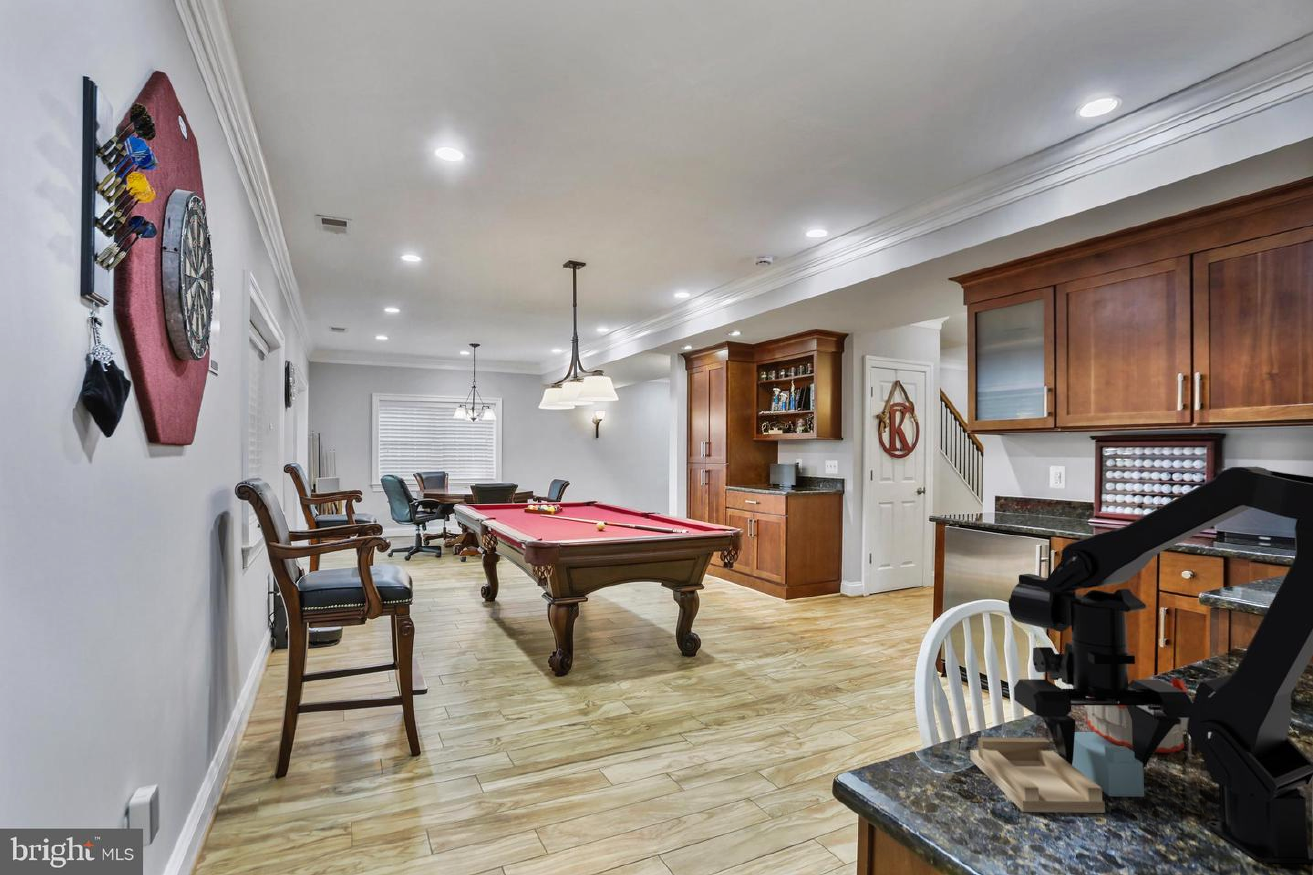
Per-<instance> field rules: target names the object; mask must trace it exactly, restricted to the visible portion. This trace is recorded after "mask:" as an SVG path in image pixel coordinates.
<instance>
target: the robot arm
mask: <svg viewBox="0 0 1313 875" xmlns="http://www.w3.org/2000/svg"><path fill="white" fill-rule="evenodd" d="M1251 508H1253V509H1255V510H1256V509H1257V510H1260V511H1264V512H1266V513H1269V514H1273V515H1276V516H1280V517H1285V518H1289V519H1292V520H1293V519H1294V520H1296V522H1295V525H1294V526H1295V527H1294V545H1295V549H1294V550H1295V555H1294V559H1293V562H1292V564H1291V565H1290V568H1289V569H1288V571H1287V573H1286V575H1285V577H1284V578H1283V580H1282V582H1281V584H1280V586H1279V588H1278V590H1277V592H1276V594H1275V596H1274V598H1273V600H1272V601H1271V603H1270V605H1269V607H1268V609H1267V610H1266V612H1265V615H1264V616H1263V619H1262V620H1261V622H1260V624H1259V626H1258V628H1257V629H1256V632H1254V635H1253V637H1252V639H1251V641H1250V643H1249V645H1248V647H1247V649H1246V650H1245V652H1244V653H1243V656H1242V658H1241V660H1240V661H1239V664H1238V666H1237V668H1236V669H1235V671H1234V673H1233V674H1232V675H1231V674H1230V673H1229V674H1226V675H1221V676H1219V677H1215V678H1210V679H1207V680H1203V681H1200V682H1199V684H1198V685H1197V688H1196V691H1195V695H1194V699H1193V700H1192V698H1191V697H1190V695H1189V694H1188V692H1187V693H1186V692H1185V691H1183V690H1180V689H1178V688H1176V687H1174V686H1172V684H1169V683H1166V682H1165V681H1162V680H1161V679H1132V680H1131V681H1129V669H1128V668H1129V667H1128V666H1129V665H1135V664H1136V656H1135V655H1134V654H1131V653H1130V652H1128V642H1127V641H1128V638H1127V636H1128V635H1127V613H1130V612H1135V611H1142V610H1145V609H1146V608H1147V605H1146V603H1145V602H1143V600H1141V599H1140V598H1138V597H1137V596H1136V595H1134V593H1133V592H1132V590H1130V588H1123V589H1122V588H1121V589H1117V590H1116V591H1115V592H1110V591H1103V590H1098V589H1092V588H1099V587H1103V586H1105V587H1106V586H1107V587H1108V586H1113V585H1119V584H1123V583H1125V582H1127V581H1128V580H1130V579H1131V578H1133V576H1135V575H1136V574H1137V573H1139V572H1140V571H1142V570H1143V569H1144V568H1146V567H1147V565H1148V564H1149V563H1150V561H1152V559H1153V558H1155V557H1156V556H1157V555H1158V554H1160V553H1161V552H1163V551H1165V550H1167V549H1169V548H1171V547H1173V546H1175V545H1177V544H1180V543H1181V542H1184V541H1186V540H1187V539H1190V538H1192V537H1194V536H1196V535H1198V534H1200V533H1202V532H1204V531H1206V530H1208V529H1211V528H1212V527H1214V526H1216V525H1218V524H1220V523H1223V522H1225V521H1227V520H1229V519H1231V518H1233V517H1235V516H1237V515H1239V514H1241V513H1243V512H1245V511H1248V510H1249V509H1251ZM1060 554H1061V558H1060V562H1059V563H1058V564H1057V566H1056V567H1055V568H1054V569H1053V570H1052V572H1051V573H1050V575H1049V576H1048V577H1043V576H1040V575H1038V574H1032V573H1024V574H1023V573H1022V574H1019V575H1018V583H1017V584H1016V585H1015V586H1014V587H1013V589H1012V591H1011V594H1010V598H1009V599H1008V610H1009V613H1010V615H1011V617H1012V619H1014V621H1016V622H1018V623H1020V624H1025V625H1030V626H1034V627H1039V628H1042V629H1045V630H1052V631H1055V632H1060V633H1062V632H1065V631H1067V630H1068V629H1069V628H1070V627H1071V629H1070V630H1071V641H1070V642H1065V645H1064V653H1055V651H1054V649H1053V648H1052V647H1051V646H1038V647H1036V646H1035V647H1033V648H1032V650H1033V651H1032V661H1033V668H1034V670H1035V671H1036V672H1037V673H1048V678H1049V680H1050V681H1049V680H1048V679H1044V678H1043V679H1042V678H1041V679H1039V678H1038V679H1037V678H1036V679H1035V678H1034V679H1028V678H1026V679H1025V678H1023V679H1018V681H1017V682H1016V684H1015V685H1014V687H1013V698H1014V701H1015V702H1017V703H1018V704H1020V705H1021V706H1022V707H1024V708H1025V709H1027V710H1028V711H1030V712H1031V713H1033V714H1034V715H1035V716H1038V717H1040V718H1041V719H1042V720H1043V722H1044V724H1045V726H1046V727H1047V729H1048V732H1049V734H1050V737H1051V738H1052V739H1051V740H1052V741H1053V744H1054V746H1055V748H1056V751H1057V754H1058V755H1059V756H1060V757H1062V758H1063V759H1064V760H1066V761H1067V762H1068V763H1070V764H1071V765H1072V762H1073V754H1074V738H1075V732H1076V723H1077V722H1076V719H1074V717H1071V716H1069V714H1070V713H1071V712H1072V706H1084V705H1126V707H1127V709H1128V712H1129V714H1130V716H1131V719H1132V749H1131V750H1132V751H1133V752H1134V757H1135V759H1137V760H1138V761H1140V762H1141V763H1143V770H1145V768H1146V766H1147V765H1148V763H1149V761H1150V760H1151V759H1152V757H1153V755H1154V752H1155V750H1156V749H1157V747H1158V746H1159V744H1160V743H1161V741H1162V740H1163V739H1164V738H1165V736H1166V735H1167V734H1168V733H1169V731H1170V730H1171V729H1172V728H1173V726H1174V725H1179V724H1181V719H1179V718H1189V719H1188V722H1187V729H1186V732H1187V735H1188V736H1189V738H1190V739H1191V742H1192V744H1193V745H1194V746H1195V748H1196V749H1197V750H1198V751H1199V753H1200V755H1201V757H1202V760H1203V762H1204V765H1205V767H1206V771H1207V772H1208V775H1209V777H1210V779H1211V781H1212V782H1213V783H1215V784H1218V793H1219V795H1218V796H1219V815H1220V816H1219V817H1220V818H1219V819H1220V820H1221V821H1207V822H1206V823H1207V828H1208V829H1210V830H1211V831H1212V832H1214V833H1216V834H1217V835H1219V836H1220V837H1221V838H1223V839H1225V840H1226V841H1228V842H1229V843H1230V844H1232V845H1233V846H1235V847H1236V848H1237V849H1239V850H1241V851H1242V852H1243V853H1244V854H1246V855H1248V856H1249V857H1251V858H1252V859H1254V860H1256V861H1258V862H1260V863H1267V864H1268V863H1269V864H1276V863H1277V864H1284V863H1285V864H1313V848H1310V847H1309V837H1308V817H1307V816H1308V815H1307V814H1308V813H1307V812H1308V811H1307V798H1306V797H1305V796H1303V795H1301V792H1300V790H1299V789H1298V788H1300V787H1302V786H1304V785H1305V786H1307V785H1310V784H1311V783H1312V781H1313V761H1312V760H1311V759H1310V758H1309V757H1308V756H1307V755H1306V754H1305V753H1304V752H1303V751H1302V750H1301V749H1300V748H1299V747H1298V746H1297V745H1296V743H1295V742H1293V741H1292V740H1291V739H1290V738H1289V737H1288V732H1289V729H1290V725H1291V722H1292V701H1291V698H1292V693H1293V691H1294V689H1295V687H1296V685H1297V684H1298V682H1299V680H1300V679H1301V677H1302V676H1303V673H1304V672H1305V670H1306V668H1307V666H1308V664H1309V663H1310V661H1311V659H1312V658H1313V476H1311V475H1305V474H1304V475H1303V474H1295V473H1287V472H1281V471H1274V470H1269V469H1267V468H1265V467H1259V466H1235V467H1234V466H1233V467H1229V468H1226V469H1223V470H1222V471H1220V472H1219V473H1218V474H1217V475H1216V476H1215V477H1214V478H1212V479H1210V480H1208V481H1206V482H1205V483H1202V484H1201V485H1199V486H1197V487H1195V488H1193V489H1191V490H1190V491H1188V492H1186V493H1184V494H1182V495H1180V496H1178V497H1177V498H1175V499H1173V500H1171V501H1169V502H1168V503H1166V504H1164V505H1162V506H1160V507H1158V508H1157V509H1155V510H1153V511H1151V512H1149V513H1147V514H1146V515H1144V516H1142V517H1140V518H1138V519H1137V520H1135V521H1133V522H1131V523H1129V524H1127V525H1126V526H1122V527H1120V528H1116V529H1113V530H1110V531H1104V532H1102V533H1101V532H1100V533H1098V534H1094V535H1091V536H1088V537H1084V538H1081V539H1078V540H1075V541H1072V542H1070V543H1067V544H1066V545H1065V546H1064V547H1063V548H1062V550H1061V552H1060ZM1090 588H1091V589H1092V590H1089V591H1087V592H1086V593H1085V594H1080V593H1077V592H1076V590H1085V589H1090ZM1060 679H1061V682H1062V683H1063V684H1066V685H1071V686H1072V688H1061V687H1059V686H1058V685H1056V684H1055V683H1053V682H1051V681H1058V680H1060ZM1086 696H1087V697H1086Z"/></svg>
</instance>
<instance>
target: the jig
mask: <svg viewBox="0 0 1313 875" xmlns="http://www.w3.org/2000/svg"><path fill="white" fill-rule="evenodd" d="M977 748H978V749H970V753H969V754H970V755H969V756H970V757H969V758H970V760H971V761H972V762H973V763H974V765H975V766H977V767H978V769H980V770H981V772H983V773H984V775H986V776H987V777H988V778H989V779H990V781H992V782H993V783H994V784H995V785H996V786H997V787H998V788H999V789H1000V791H1002V792H1003V793H1004V794H1005V795H1006V796H1007V797H1008V798H1009V800H1011V802H1013V803H1014V805H1016V806H1017V807H1018V808H1019V809H1020V810H1021V811H1022V812H1023V813H1088V814H1089V813H1092V814H1093V813H1094V814H1095V813H1101V814H1102V813H1103V814H1105V813H1106V807H1105V804H1106V802H1105V800H1103V791H1102V788H1101V787H1100V786H1099V785H1097V784H1096V783H1095V782H1093V781H1092V780H1091V779H1089V778H1088V777H1087V776H1085V775H1084V774H1083V773H1081V772H1080V771H1079V770H1077V769H1076V768H1075V767H1073V766H1072V765H1071V764H1070V763H1068V762H1067V761H1066V760H1064V759H1063V758H1062V757H1060V756H1059V754H1058V753H1056V752H1055V751H1054V750H1052V749H1051V741H1050V740H1048V739H1047V738H1046V737H1001V736H1000V737H995V736H994V737H989V736H987V737H985V736H983V737H981V736H979V737H977Z"/></svg>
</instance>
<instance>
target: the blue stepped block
mask: <svg viewBox="0 0 1313 875" xmlns="http://www.w3.org/2000/svg"><path fill="white" fill-rule="evenodd" d="M1072 766H1073V767H1075V768H1076V769H1077V770H1079V771H1080V772H1081V773H1083V774H1084V775H1085V776H1087V777H1088V778H1089V779H1091V780H1092V781H1093V782H1095V783H1096V784H1097V785H1099V786H1100V787H1101V788H1102V793H1104V794H1105V795H1107V796H1109V797H1142V798H1143V797H1145V785H1144V784H1145V782H1144V781H1145V780H1144V769H1143V763H1141V762H1140V761H1138V760H1137V759H1135V757H1134V752H1133V749H1130V748H1127V747H1125V746H1119V745H1116V744H1114V743H1111V742H1109V741H1107V740H1106V739H1104V738H1103V737H1101V736H1100V735H1098V734H1097V733H1095V732H1093V731H1075V738H1074V754H1073V762H1072Z"/></svg>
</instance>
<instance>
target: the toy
mask: <svg viewBox="0 0 1313 875" xmlns="http://www.w3.org/2000/svg"><path fill="white" fill-rule="evenodd" d="M1171 686H1174V687H1176V688H1178V689H1180V690H1183V691H1185V692H1186V693H1187V694H1188V689H1187V687H1186V684H1185V683H1184V681H1183V680H1182V679H1179V678H1171ZM1086 697H1087V696H1086ZM1083 706H1084V708H1085V709H1086V712H1087V717H1086V723H1087V725H1088V727H1089V728H1090V730H1091V732H1095V733H1097V734H1098V735H1100V736H1101V737H1103V738H1104V739H1106V740H1107V741H1109V742H1110V743H1112V744H1114V745H1116V746H1125V747H1127V748H1128V749H1130V750H1133V749H1132V719H1131V716H1130V714H1129V712H1128V709H1127V707H1126V705H1083ZM1179 719H1181V724H1179V725H1174V726H1173V728H1172V729H1171V730H1170V731H1169V733H1168V734H1167V735H1166V736H1165V738H1164V739H1163V740H1162V741H1161V743H1160V744H1159V746H1158V747H1157V749H1156V750H1155V752H1154V753H1155V754H1156V753H1157V754H1169V753H1174V752H1180V751H1182V749H1183V748H1184V747H1185V741H1184V735H1183V734H1184V733H1183V732H1184V731H1187V722H1188V719H1189V718H1179Z"/></svg>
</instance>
